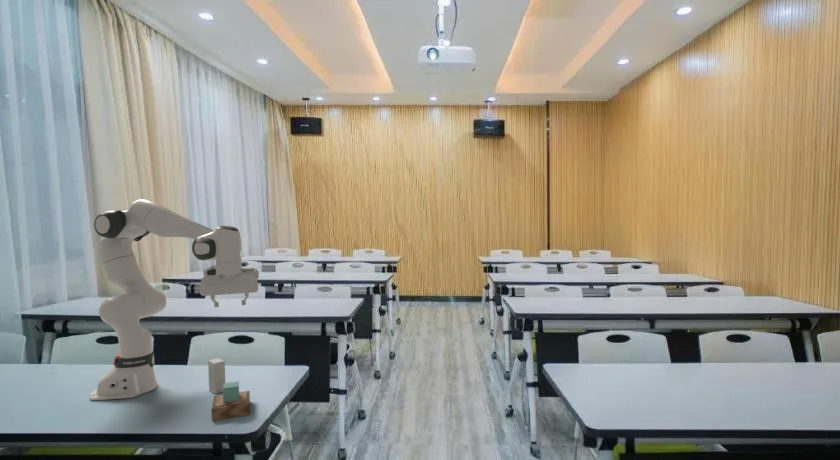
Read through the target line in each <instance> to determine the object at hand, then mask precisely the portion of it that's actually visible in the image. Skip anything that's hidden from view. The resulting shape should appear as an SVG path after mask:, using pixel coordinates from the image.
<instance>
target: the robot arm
mask: <svg viewBox="0 0 840 460" xmlns="http://www.w3.org/2000/svg"><path fill="white" fill-rule="evenodd" d="M94 219H95V220H94V224H93V226H94V230H95V232H96V234H97V235H99V237H100V236H101V237H102V238H101V239H100V241H99V252H100V258H101V262H102V264H103V268H104V271H105V273H106V277H107V280H108V282H109V283H110V285H112V286H114V287H117V288H119V289H120V290H122V291H123V292H124V293H122V294H117V295H114V296H112V297H109V298H107V299H104V300H103V301H102V302H101V304H100V306H99V309H98V313H99V318H100V319H101V320H102V321H103V322H104V323H105V324H107V325H109V326H110V327H111V328H112V329H113V330H114V332H115V333H116V336H117V340H118V348H119V349H118V350H119V354H116V355H115V356H114V359H113V367H111V368H110V369H109V370H108V371H107V372H106V373H105V374H103V375H102V376H101V377H100V378H99V379H98V382H97V386H96V388H95V389H94V390H93V391H92V392H91V393H90V395H89V399H90V401H106V400H115V399H116V400H117V399H119V400H120V399H132V398H136V397H138V396H140V395H142V394H146V393H149V392H150V391H153V390H155V389H157V388H158V386H159V382H158V381H157V380H158V379H157V378H156V375H155V374H156V373H155V368H154V365H155V355H154V354H155V353H154V351H153V339H152V338H153V336H152V333H151V332H150V330H149V329H147V328H144V327H142V326H141V323H140V320H141V319H144V318H148V317H152V316H154V315H157V314H158V313H160V312H163V310H164V309H165V308H166V307H167V306H166V305H167V297H166V296H165V294H164V292H163V291H162V290H159V289H158V288H156V287H154V286H152V284H151V283H149V282H148V280H146V278H145V277H144V275H143V273H142V272H141V270H140V266H139V265H138V262H137V258H136V256H135V253H134V249H133V242H139V241H141V240H142V239H143V238H145V237H146V236H148V235H149V234H150V233H151V234H153V235H156V236H158V237H163V238H186V239H187V238H188V239H193V242H192V244H191V251H192V254H193V256H194V257H195V259H197V260H199V261H213V260H215V262H216V264H215V265H213V266H210V267H207V268H205V269H203V272H202V274H203V277H202V278H201V280H200V285H199V294H200V295H201V296H202V297H205V296H206V297H208V296H210V299H211V301H212V303H213V304H214V308H219V307H220V305H219V304H220V303H219V301H217V300H216V296H221V295H222V296H224V295H237V294H244V296H245V297H244V299H241V306H246V304H247V299H248V298H249V295H250V293H257V292H258V291H259V282H258V279H259V278H260V272H259V270H258V269H257V268H254V267H250V268H243V263H242V260H243V259H242V257H241V252H242V237H241V233H240V231H239V229H238V228H237V227H235V226H231V225H218V226H217V227H216V228H215V229H211V228H210V227H207V226H205V225H203V224H200V223H197V222H195V221H193V220H191V219H189V218H187V217H185V216H182V215H180V214H179V213H176V212H175V211H173V210H171V209H170V208H169V207H168V208H167V207H166V206H164V205H162V204H160V203H158V202H155V201H152V200H149V199H144V198H142V199H137V200H135V201H133V202H132V203H131V205H130V206H129V208H128V209H127V210H126V209H125V210H121V209H115V210H114V209H113V210H106V211H103V212H100V213H99V214H98V215H96V217H95V218H94Z"/></svg>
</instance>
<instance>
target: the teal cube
mask: <svg viewBox="0 0 840 460" xmlns="http://www.w3.org/2000/svg"><path fill="white" fill-rule="evenodd" d="M239 392H240V381H231V382H225V383H224V384H223V392H222V395H223V403H224V402H231V401H237V400H239Z"/></svg>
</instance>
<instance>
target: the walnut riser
mask: <svg viewBox="0 0 840 460" xmlns="http://www.w3.org/2000/svg"><path fill="white" fill-rule="evenodd" d="M250 394H251V392H250V390H245V391H239V400H237V401H231V402H224V403H223V394H215V395H213V400H212V405H211V421H212V422H213V421H218V420H226V419H232V418H238V417H243V416H251V395H250Z"/></svg>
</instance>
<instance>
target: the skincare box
mask: <svg viewBox="0 0 840 460" xmlns="http://www.w3.org/2000/svg"><path fill="white" fill-rule="evenodd" d="M207 362H208V363H207V365H208V369H207V370H208V391H210V392H211V393H212V394H215V395H218V394H219V393H223V384H224V383H226V361H225V360H223V359H221V358H219V357H218V358H212V359H209V360H208V361H207Z"/></svg>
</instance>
